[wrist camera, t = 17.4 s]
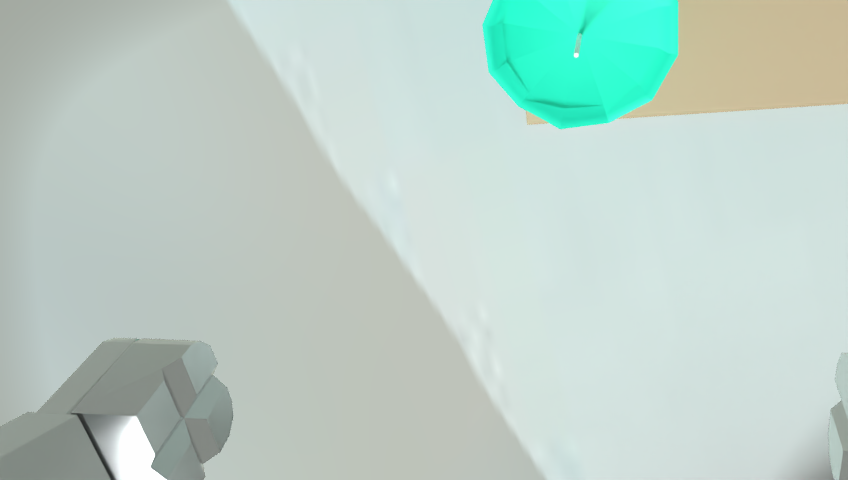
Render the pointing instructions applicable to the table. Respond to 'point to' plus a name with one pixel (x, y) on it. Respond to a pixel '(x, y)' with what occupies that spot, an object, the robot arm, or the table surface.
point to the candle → (581, 55)
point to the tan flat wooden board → (753, 57)
